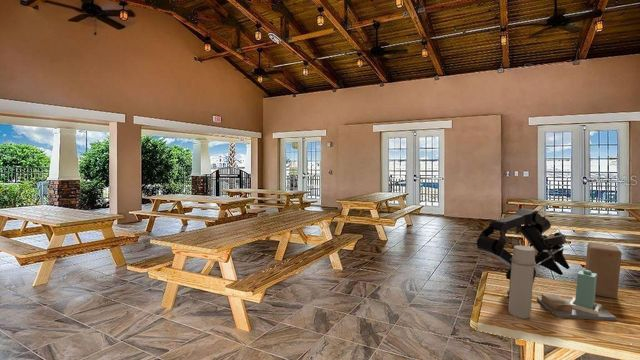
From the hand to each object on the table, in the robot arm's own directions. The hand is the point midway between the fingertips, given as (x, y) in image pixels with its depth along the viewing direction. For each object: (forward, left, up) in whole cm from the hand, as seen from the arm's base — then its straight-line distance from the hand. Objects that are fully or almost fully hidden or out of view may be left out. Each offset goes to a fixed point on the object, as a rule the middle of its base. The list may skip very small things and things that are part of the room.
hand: (565, 271), depth 132 cm
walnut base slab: (-5, -4, -12) cm, 14 cm away
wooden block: (+22, +14, -13) cm, 30 cm away
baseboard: (+2, -4, -13) cm, 14 cm away
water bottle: (-21, -10, -13) cm, 27 cm away
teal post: (+5, -4, -12) cm, 14 cm away
